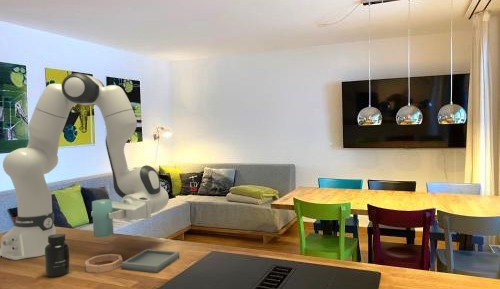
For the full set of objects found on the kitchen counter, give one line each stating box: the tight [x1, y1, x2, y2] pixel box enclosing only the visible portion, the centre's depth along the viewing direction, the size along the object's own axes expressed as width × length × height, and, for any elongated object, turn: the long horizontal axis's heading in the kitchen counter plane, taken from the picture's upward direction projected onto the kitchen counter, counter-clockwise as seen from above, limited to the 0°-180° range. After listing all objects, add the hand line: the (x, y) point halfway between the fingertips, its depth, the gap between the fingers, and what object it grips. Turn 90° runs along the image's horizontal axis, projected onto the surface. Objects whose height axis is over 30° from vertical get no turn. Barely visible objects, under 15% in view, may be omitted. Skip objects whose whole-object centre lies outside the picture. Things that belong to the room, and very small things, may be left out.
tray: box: [120, 248, 180, 274], centre depth 123 cm, size 13×14×2 cm
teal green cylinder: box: [91, 198, 114, 238], centre depth 121 cm, size 6×6×11 cm
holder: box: [84, 253, 124, 274], centre depth 122 cm, size 11×11×2 cm
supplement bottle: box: [44, 233, 71, 278], centre depth 116 cm, size 7×7×12 cm
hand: (100, 215), depth 120 cm, fingers closed on teal green cylinder, 6 cm apart
